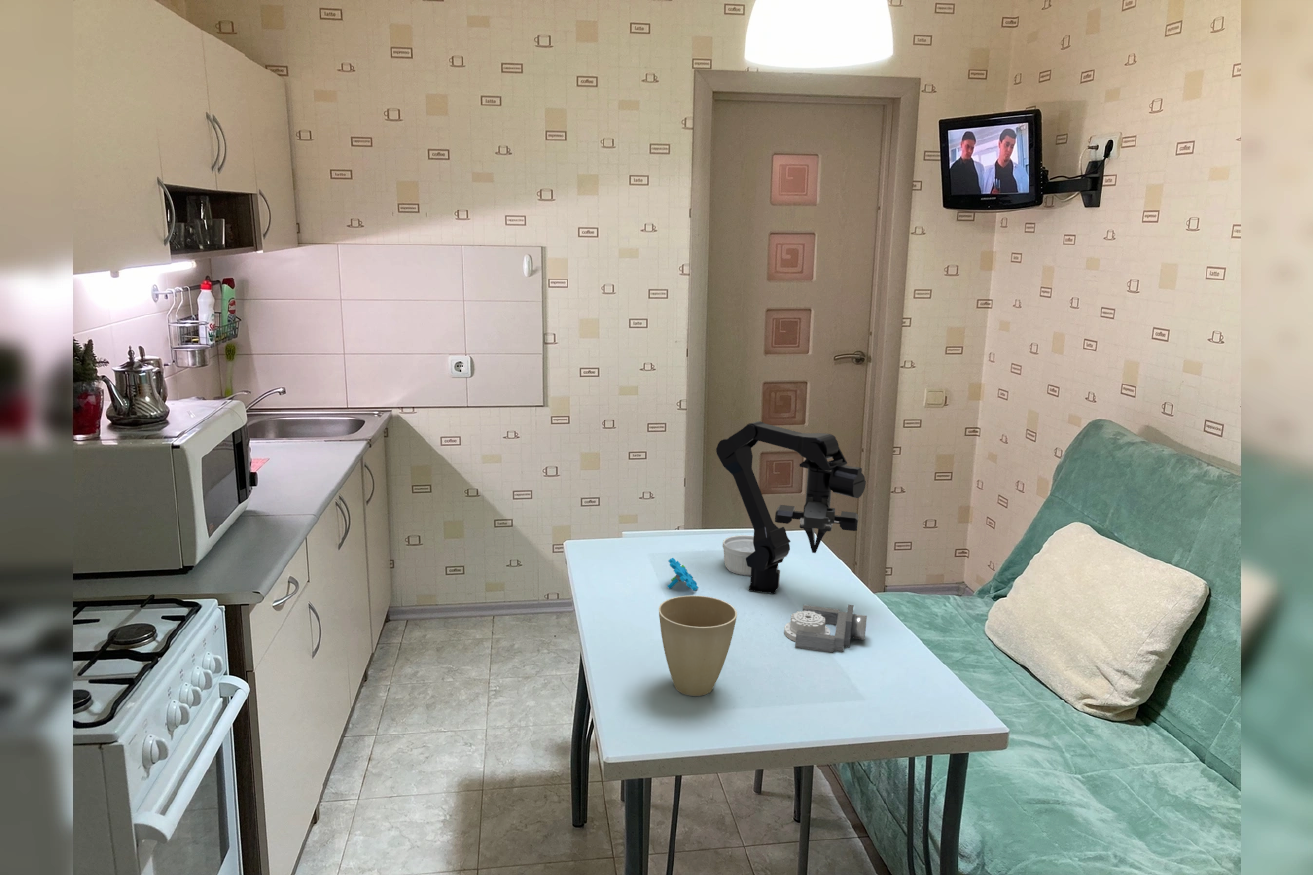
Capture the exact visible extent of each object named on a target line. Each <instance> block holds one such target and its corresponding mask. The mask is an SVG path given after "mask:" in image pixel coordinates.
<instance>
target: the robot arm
mask: <svg viewBox="0 0 1313 875" xmlns="http://www.w3.org/2000/svg"><path fill="white" fill-rule="evenodd" d="M759 442H762V443H766V444H770V445H772V446H776V447H781V448H783V449H788V450H792V451H794V452H796V453H797V454H799V455H800V457H803V458H804V459H805V460H803V461H802V462H801V463H799V464H798V465H799V467H800V468H803V469H807V476H806V488H805V489H806V490H805V493H806V494H805V501H804V502H805V503H804V505H803V511H799V510H796V506H794V505H788V504H779V505H778V506H777V509H776V510H775V515H774V516H775V518H774V521H773V518H772V516H771V514H770V512H769V509H768V507H767V503H766V502H765V498H764V497H763V494H762V491H761V489H760V486H759V484H758V482H757V479H756V476H755V473H754V471H753V467H752V466H753V456H754V455H753V452H752V448H753V447H755V446H756V445H757V444H758V443H759ZM839 445H840V444H839V442H838V440H837V438H836V436H835V435H833V434H831V433H821V432H807V433H805V432H804V433H803V432H799V431H796V430H792V429H787V428H783V427H780V426H775V425H773V424H769V423H765V422H763V421H759V420H758V421H754V422H750V423H747V424H746V425H744V427H742V428H741V429H740V430H738V431H737V432H735V433H734V434H731V436H729V437H728V438H723V439H721V440H719V442H718V443H717V447H716V449H715V451H716V456H717V457H718V459H719V461H720V463H721V465H722V467H723V468H724V469H726V471H728V473H730V474H731V475H732V477H733V479H734V482H735V484H736V486H737V490H738V492H739V495H740V497H741V500H742V502H743V505H744V507H745V509H746V512H747V515H748V517H749V520H750V523H751V526H752V528H753V536H754V538H753V545H754V549H755V551H754V552H753V553H752V554H750V555H749V556H748V557H746V562H747V566H748V567H751V576H750V584H749V586H748V591H750V592H758V593H764V594H770V595H771V594H772V595H775V594H776V593H777V592H776V591H777V590H778V589H779V587H780V577H781V569H779V564H780V563H781V564H782V563H783V562H784V560H785V558H786V557H787V556H788V555H789V552H790V550H791V545H790V543H791V540H790V539H789V537H788V535H787V531H786V528H785V527H784V526H782V527H778V526H777V525H776V524H775V523H778V524H786V525H787V524H790V523H791V522H792V520H799V528H800V529H803V531H805V533H806V536H807V538H808V542H809V545H810V549H811V553H812V554H816V553H817V551H818V548H819V547H820V543H821V541H822V539H823V538H824V536H825V534H826V533H827V532H832V529H833V525H834V524H836V525H837V524H838V525H839V527H840V529H841V530H842V531H852V532H856V531H858V524H859V514H858V513H857V512H854V511H844V510H843V511H842V510H841V513H840V515H839V514H838V515H836V508H835V507H831V500H832V493H834V494H839V495H842V496H846V497H849V498H854V499H860V497H862V495H863V494H864V492H865V489H866V483H867V482H866V481H867V480H866V479H865V475H864V474H863V469H862V467H858V466H850V465H848V461H847V460H846V457H845V456H844V454H843V452H842V450H841V448H840V446H839ZM830 459H832V460H830ZM828 460H829V461H828ZM774 522H775V523H774ZM815 529H817V535H815ZM815 536H816V537H815ZM815 538H816V539H815Z"/></svg>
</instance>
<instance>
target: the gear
mask: <svg viewBox="0 0 1313 875" xmlns="http://www.w3.org/2000/svg"><path fill="white" fill-rule="evenodd" d="M668 563H669V566H670V567H671V568H672V569H673V572H674V574H675V576H674V577H672V578H671V579H670V581H671V582H669V584H667V588H668V589H669V590H670V589H672V588H674V586H675V585H676V584H678V582H682V583H684V582H685V583H686V584H685V585H686V587H688V588H689V589H691V590H692V591H694V592H695V591H697V590H698V589H699V586H698V582H697V581H695V580H694V577H693V576H692V574H691V573H689V572H688V570H687V569H686V568H687V567H686V566H685V565H684V564H681V562H679V561H678V560H676V559H675V558H674V557H672V558H670V559H668Z"/></svg>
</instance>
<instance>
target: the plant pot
mask: <svg viewBox="0 0 1313 875" xmlns="http://www.w3.org/2000/svg"><path fill="white" fill-rule="evenodd" d="M737 617H738V611H737V609H736V608H735V607H734V606H733V605H732V604H730V603H729V602H727V601H725V600H722V599H720V598H716V597H713V596H712V597H711V596H705V595H680V596H675V597H671V598H669V599H666V600H664V601H663V602H662V603H660V605H659V606H658V618H659V626H660V634H661V638H662V645H663V650H664V654H665V655H664V656H665V659H666V663H667V666H668V669H669V673H670V676H671V680H672V683H673V685H674V688H675V689H676V690H677V692H679V693H681V694H682V695H686V696H689V697H702V696H705V695H708V694H710V693H711V692H712V691H713V689H714V687H715V685H716V683H717V681H718V679H719V676H720V674H721V672H722V670H723V667H724V664H725V661H726V659H727V655H728V654H729V650H730V647H731V643H732V639H733V636H734V630H735V626H736V623H737Z"/></svg>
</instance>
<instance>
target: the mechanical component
mask: <svg viewBox="0 0 1313 875" xmlns="http://www.w3.org/2000/svg"><path fill="white" fill-rule="evenodd" d="M797 631H805V632H812V633H819V634H827V635H831V630H830V627H828V626H826V624H825V618H824V617H822V615H821V614H817V613H815V612H811V611H798V610H797V611H796V612H795V613H791V615H790V621H789V622H787V623H786V624H784V629H783V632H784V635H785V637H787V638H788V639H789V640H791V641H794V642H795V643H796V633H797Z"/></svg>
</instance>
